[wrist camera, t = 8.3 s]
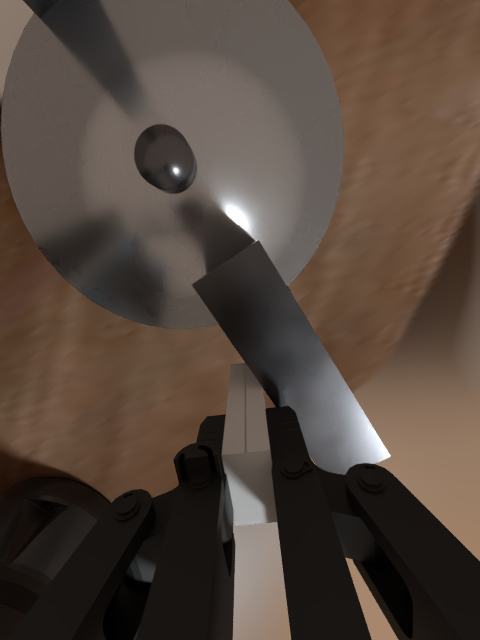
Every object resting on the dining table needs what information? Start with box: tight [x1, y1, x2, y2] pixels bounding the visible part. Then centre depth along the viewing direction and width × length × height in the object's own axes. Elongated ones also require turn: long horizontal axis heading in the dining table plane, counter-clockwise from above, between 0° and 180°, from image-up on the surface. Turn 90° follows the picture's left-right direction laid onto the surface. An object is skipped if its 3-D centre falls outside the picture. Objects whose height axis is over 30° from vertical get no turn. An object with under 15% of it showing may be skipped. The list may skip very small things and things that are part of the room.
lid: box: [1, 0, 390, 475], centre depth 13 cm, size 25×16×5 cm, turn 33°
